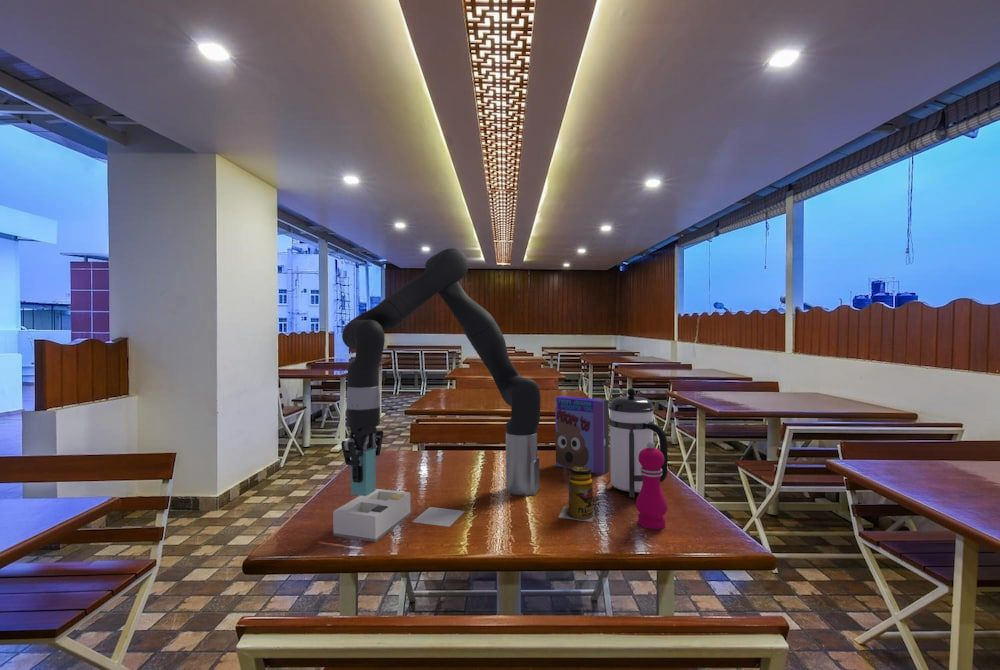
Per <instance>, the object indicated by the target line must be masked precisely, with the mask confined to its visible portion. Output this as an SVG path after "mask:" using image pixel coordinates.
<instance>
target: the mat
mask: <svg viewBox="0 0 1000 670" xmlns="http://www.w3.org/2000/svg"><path fill="white" fill-rule="evenodd" d="M464 513H465V510H460V509H459V510H458V509H450V508H449V509H448V508H444V507H443V508H440V507H432V506H429V507H427V509H426V510H424V511H423V512H422V513H421V514H420V515H418V516H417V517H416V518H415V519H413V520H411V523H417V524H423V525H424V524H425V525H431V526H432V525H433V526H440V527H448V528H449V527H451V526H452V525H453V524H454V523H455V522H456V521H457V520H459V518H460V517H461V516H462V515H463V514H464Z"/></svg>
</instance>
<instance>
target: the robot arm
mask: <svg viewBox="0 0 1000 670" xmlns="http://www.w3.org/2000/svg"><path fill="white" fill-rule="evenodd" d="M468 270H469V261H468V259H467V257H466V255H465V254H464V252H462V251H461V250H459V249H457V248H454V247H453V248H452V247H451V248H446V249H443V250H440V251H439V252H438V253H436V254H434V255H432V256H431V257H429V258H428V259H427V260H426V262H425V264H424V272H423V273H421V274H420V275H419V276H417V277H415V278H414V279H412V280H410V281H409V282H408V283H405V284H404V285H402V286H401V287H400V288H398V289H397V290H395V291H394V292H393V293H391V294H389V295H388V296H386V297H385V298H384V299H383V300H382V301H380V302H379V303H378V304H377V305H376V306H374V307H372V308H370V309H369V310H367V311H364V312H363V313H361V314H360V315H357V316H355V317H354V318H353V319H351V320H350V321H349V322H348V323H346V324H345V326H344V328H343V330H342V332H341V338H342V342H343V344H344V345H345V346H346V347H347V348H349V349H351V350H355V351H356V352H355V357H354V360H353V361H351V362H350V363H349V364H348V366H347V389H346V397H345V398H346V399H345V400H346V426H347V427H348V428H349V429H350V432H349V433H350V434H349V438H348V439H347V440H342V441H341V444H340V446H341V450H342V454H343V458H344V463H345V465H346V466H350V467H351V466H352V479H353V482H357V483H360V482H362V481H363V466H362V464H363V456H364V455H365V452H366V450H367V448H372V449H374V448H376V457H377V456H380V454H381V450H382V444H383V443H382V442H383V438H384V431H383V430H380V429H379V430H377V429H378V428H377V427H378V426H379V425H380V424H381V393H380V386H379V385H380V383H379V382H380V381H379V379H380V375H379V374H380V372H379V371H380V370H379V368H380V365H381V361H382V358H383V357H382V356H383V353H384V348H385V342H386V341H385V339H386V338H385V331H390V330H393V329H395V328H397V327H398V326H400V324H402V323H403V322H404V321H405V320H406V319H409V317H410V316H412V314H414V313H415V312H416V311H417V310H418V309H419V308H420V307H422V306H423V305H424V304H425V303H427V301H429V300H430V299H432V297H434V296H435V295H436V294H438V295H439V296H440V298H441V299H442V300H443V302H444V303H445V305H447V307H448V308H449V311H450V312H451V313H452V315H453V317H454V318H455V320H456V321H457V323H458V324H459V325H460V328H461V329H462V331H463V332H464V334H465V336H466V338H467V340H468V342H470V345H471V346H472V347H473V349H474V350H475V352H476V353H477V355H478V356H479V358H480V359H481V361H482V363H483V364H484V366H485V367H486V368H487V370H488V371H489V373H490V375H491V376H492V379H493V381H494V383H495V384H496V387H497V390H498V392H499V394H500V395H501V398H502V399H503V401H504V403H506V405H508V406H510V407H511V408H510V409H511V410H510V412H511V413H510V420H508V421H507V422H506V423H505V479H506V480H505V481H506V482H505V486H506V487H505V489H506V490H505V491H506V492H507V494H509V495H514V496H520V497H521V496H535V495H537V493H538V491H540V457H539V456H538V427H539V424H540V421H541V390H540V387H539V385H538V383H537V381H535V380H533V379H531V378H528V377H527V378H526V377H522V375H521V374H520V373H519V372H518V371H517V368H516V367H515V366H514V364H513V362H512V361H511V358H510V357H509V353H508V349H507V348H508V347H507V344H506V343H507V342H506V339H505V336H504V334H503V332H502V330H501V328H500V327H499V325H498V323H497V321H496V320H495V318H494V317H493V316H492V315H491V313H490V312H488V311H487V309H486V308H484V307H483V306H482V305H480V304H479V303H478V302H476V301H475V300H473V299H472V298H471V297H470V296H469V295H468V293H466V291H465V290H464V289H463V287H462V285H461V284H460V281H461V280H463V278H464V277H465V276H466V275H467V273H468ZM356 450H361V452H356ZM357 455H358V456H359V460H357Z"/></svg>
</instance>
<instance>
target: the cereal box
mask: <svg viewBox="0 0 1000 670" xmlns="http://www.w3.org/2000/svg"><path fill="white" fill-rule="evenodd" d="M554 403H555V407H554V409H555V411H554V413H555V415H554V416H555V417H554V419H555V467H557V468H561V469H562V468H563V469H568V470H570V468H571V467H573V466H585V467H588V468H590V469H591V474H597V475H602V476H604V475H605V474H607V473H608V472H609V473H610V435H609V418H610V410H609V405H610V404H609V403H610V402H609V399H601V398H598V399H597V398H590V397H589V398H588V397H577V396H576V397H574V396H565V395H564V396H563V395H561V396H560V395H559V396H556V397H555V401H554Z"/></svg>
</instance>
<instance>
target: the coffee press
mask: <svg viewBox="0 0 1000 670" xmlns="http://www.w3.org/2000/svg"><path fill="white" fill-rule="evenodd" d="M626 393H627V395H628V396H627V395H626V396H617V397H615V398H613V399H612V400H611V401H610V404H609V463H610V479H609V480H608V482H607V483H606V484H605V489H606V490H607V491H610V490H611V489H613V488H616V489H618V490H621V491H624V492H628V494H629V495H628V496H629V500H635V493H640V491H641V488H642V485H643V476H642V474H641V469H640V468H641V467H642V465H641V464H640V463H639V460H638V456H639V453H640V451H641V450H642V449H644V448H648V446H647V444H648V442H650V441H651V442H654V443H655V434H656V435H657V436H658V439H659V441H658V442H659V450H660V451H661V452H662V453H663V455H664V464H663V466H662V467H661V469H662V476H660V483H662V482H664V481H665V480H666V479H667V476H668V466H669V465H668V456H669V455H668V454H669V453H668V439H667V435H666V433H665V431H664V429H663V428H662V427H661V426H660V425H658V424H655V420H654V411H655V406H654V405H653V403H652V401H651V400H650V399H648V398H645V397H643V396H642V397H641V396H635V394H636V391H635V389H634V388H628V389H627V391H626ZM609 483H611V486H610V487H607V486H608V485H609Z"/></svg>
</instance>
